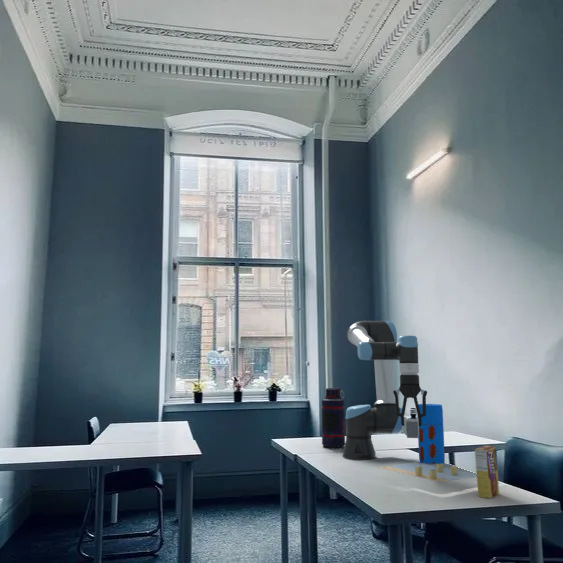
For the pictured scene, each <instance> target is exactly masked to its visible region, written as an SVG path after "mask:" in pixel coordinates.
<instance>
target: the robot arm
mask: <svg viewBox="0 0 563 563" xmlns="http://www.w3.org/2000/svg"><path fill="white" fill-rule="evenodd" d="M346 338H347V339H348V341H349V342H350V343H351V344H352V345H354V346H356V348H357V357H358V358H359V360H361V361H374V362H373V363H374V378H375V392H376V401H375V402H374V404H373V407H372V406H371V404H357V405H352V406H349V407H347V409H346V411H345V445H344V447H343V450H342V457H343V458H344V459H345V458H346V459H349V460H350V459H351V460H373V459H375V458H376V456H377V455H376V451H375V448H374V444H373V441H372V434H399V433H400V432H401V431H402V429H403V428H404V436H406V435H407V432H406V419H407V417H405V415H406V407H407V401H408V399H409V398H411V399H413V401H414V406H415V410H416V414H418V417H415V419H416V420H417V423H418V435H419V426H421V425H422V421H421V418H422V417H423V416H426V404H427V394H428V391H427V390H424V389H422V388H421V386H420V376H419V373H420V372H419V371H420V370H419V366H420V364H419V349H418V348H419V347H418V346H419V343H418V337H417V336H416V335H400V336H399V337H398V333H397V329H396V325H395V324H394V323H393V322H392V321H391V320H390V321H389V320H360V321H356V322H354V323H353V324H351V325H350V326H349V327H348V328H347V332H346ZM393 361H399V366H398V367H399V373H400V375H399V388H398V389H396V390H395V383H394V382H395V381H394V370H393V369H394V368H393ZM400 393H401V395H402V396H403V401H402V407H400V405H399V395H400ZM419 394H421V395H422V396H421V398H422V399H421V400H422V403H421V404H422V413H420V409H419V405H418V404H419V402H418V398H417V397H418V395H419Z"/></svg>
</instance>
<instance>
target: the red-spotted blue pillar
mask: <svg viewBox="0 0 563 563" xmlns="http://www.w3.org/2000/svg"><path fill="white" fill-rule="evenodd" d="M418 405H419V409H420V413H422V403H418ZM416 414H417V413H416ZM416 416H417V417H418V414H417V415H416ZM421 421H422V425H421V426H419V435H418V438H417V440H418V444H417V445H418V459H419V463H423V464H429V465H436V464H439V463H442V464H445V462H446V461H445V459H446V458H445V456H446V453H445V434H444V410H443V405H442V404H438V403H426V416H423V417H422V418H421Z"/></svg>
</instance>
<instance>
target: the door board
mask: <svg viewBox="0 0 563 563" xmlns="http://www.w3.org/2000/svg"><path fill="white" fill-rule="evenodd" d="M415 467H422V475H421V476H416V471H415ZM378 468H379V469H383V470H388V471H391V472H396V473H401V474H405V475H409V476H414V477H418V478H422V479H427V480H430V481H434V482H438V483H439V482H440V483H446V482H451V481H452V482H453V481H456V480H463V479H467V478H472V477H477V473H472V472H467V471H461V470H458V469H457V471H458V475H451V468H448V467H443V472H437V479H430V470H436V471H437V467H436V465H434V464H429V463H420V462H418V461H414V462H413V461H412V462H405V463H400V464H399V463H398V464H393V465H392V464H391V465H387V466H380V467H378Z"/></svg>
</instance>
